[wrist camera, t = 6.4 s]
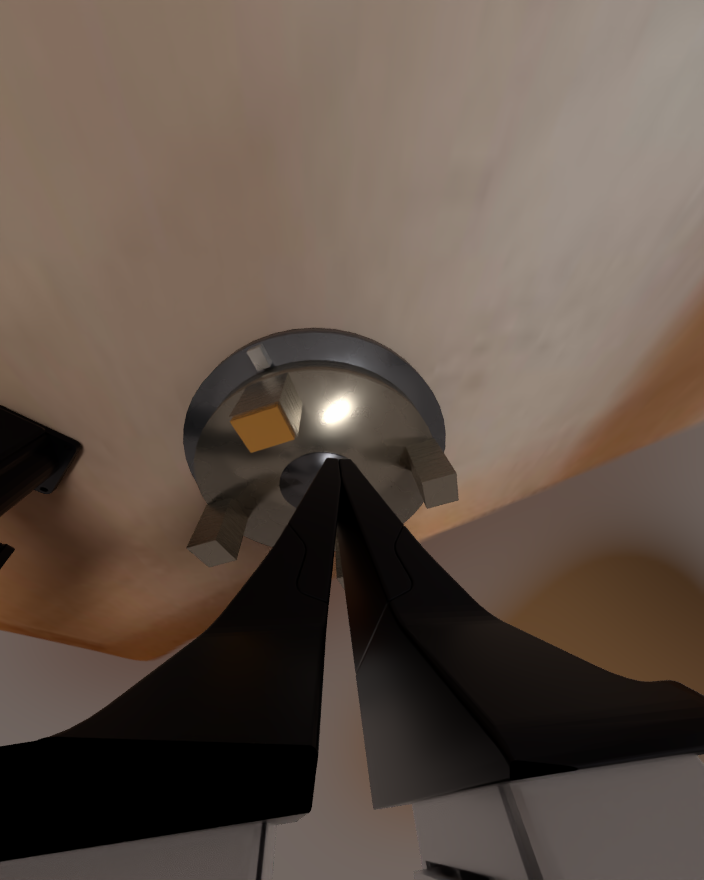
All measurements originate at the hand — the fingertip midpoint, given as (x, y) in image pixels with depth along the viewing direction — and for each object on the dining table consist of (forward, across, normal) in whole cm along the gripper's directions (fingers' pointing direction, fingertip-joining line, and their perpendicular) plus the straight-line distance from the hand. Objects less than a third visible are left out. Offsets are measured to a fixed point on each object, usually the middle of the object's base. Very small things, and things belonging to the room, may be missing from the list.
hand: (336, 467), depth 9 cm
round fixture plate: (+9, 0, +8) cm, 12 cm away
